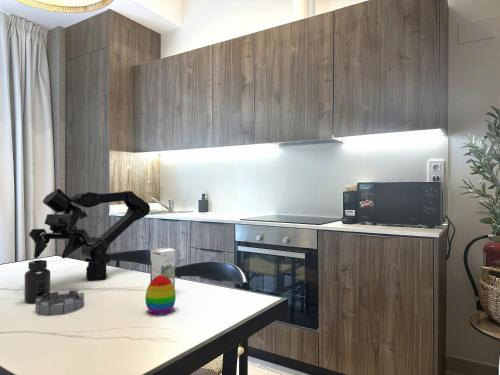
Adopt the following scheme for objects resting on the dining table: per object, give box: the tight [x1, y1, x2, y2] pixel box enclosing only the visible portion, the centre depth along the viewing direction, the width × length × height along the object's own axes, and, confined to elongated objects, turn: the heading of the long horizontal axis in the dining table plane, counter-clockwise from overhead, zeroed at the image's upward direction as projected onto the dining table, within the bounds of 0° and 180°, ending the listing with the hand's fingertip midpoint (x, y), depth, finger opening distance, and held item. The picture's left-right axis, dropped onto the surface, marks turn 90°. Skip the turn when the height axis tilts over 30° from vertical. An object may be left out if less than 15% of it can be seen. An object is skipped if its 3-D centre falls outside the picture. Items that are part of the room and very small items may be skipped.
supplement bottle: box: [24, 259, 51, 305], centre depth 107 cm, size 7×7×12 cm
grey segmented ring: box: [34, 289, 85, 317], centre depth 100 cm, size 12×12×4 cm
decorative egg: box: [144, 275, 177, 315], centre depth 98 cm, size 8×8×10 cm
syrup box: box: [149, 247, 176, 290], centre depth 114 cm, size 6×6×14 cm
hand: (48, 257), depth 113 cm, fingers open, 9 cm apart
